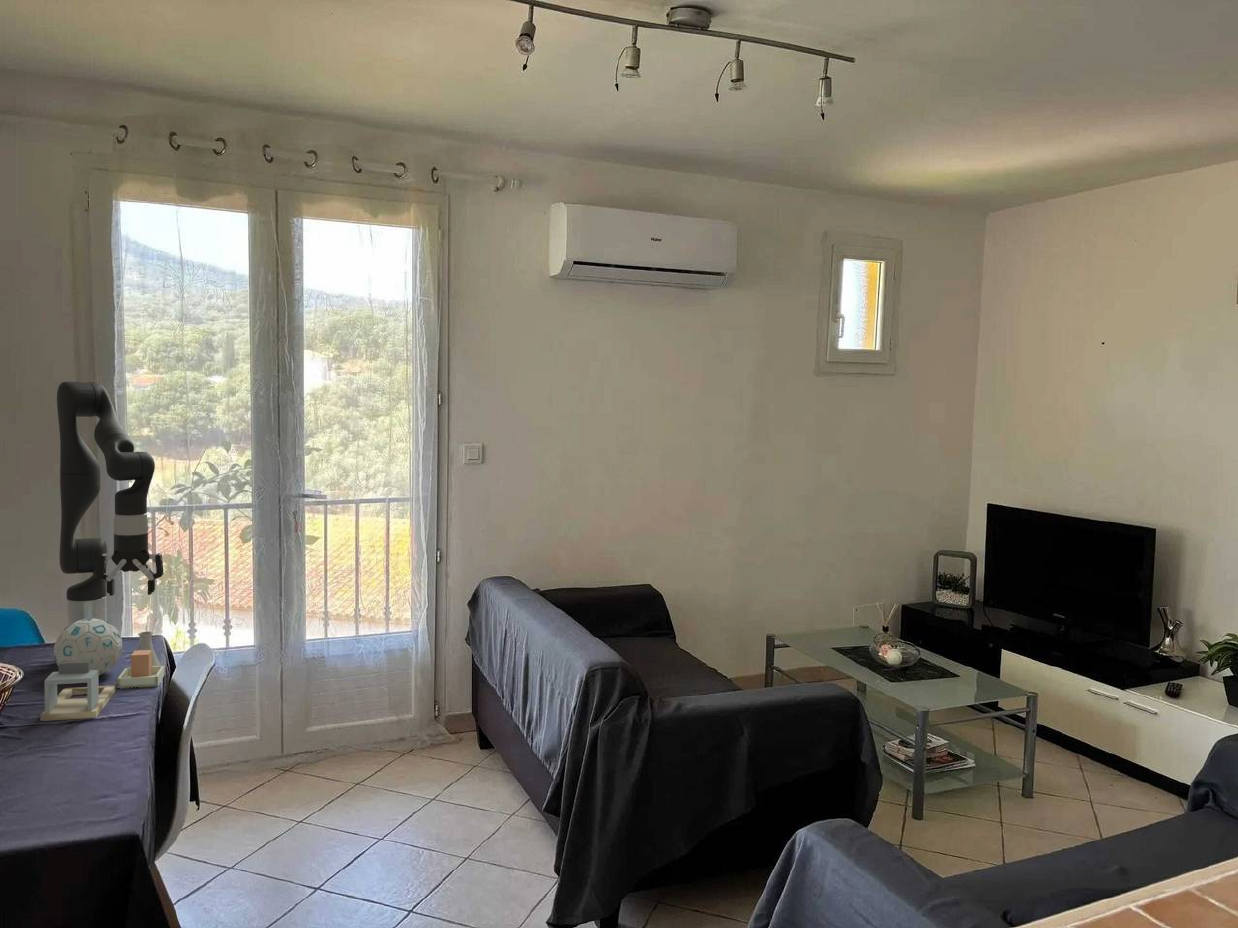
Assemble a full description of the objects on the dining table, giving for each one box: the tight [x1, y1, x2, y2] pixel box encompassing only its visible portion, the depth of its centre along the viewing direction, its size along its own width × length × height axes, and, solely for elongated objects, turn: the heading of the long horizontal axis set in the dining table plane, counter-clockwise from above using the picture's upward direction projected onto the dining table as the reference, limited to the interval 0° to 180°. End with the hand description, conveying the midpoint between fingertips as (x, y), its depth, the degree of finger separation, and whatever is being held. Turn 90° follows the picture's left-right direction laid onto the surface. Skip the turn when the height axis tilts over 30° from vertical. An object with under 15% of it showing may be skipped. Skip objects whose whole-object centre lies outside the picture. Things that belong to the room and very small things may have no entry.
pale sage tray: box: [116, 665, 166, 689], centre depth 222 cm, size 9×9×2 cm
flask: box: [136, 630, 162, 666], centre depth 231 cm, size 7×7×10 cm
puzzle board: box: [39, 685, 116, 722], centre depth 205 cm, size 18×11×2 cm, turn 17°
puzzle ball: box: [53, 618, 123, 677], centre depth 224 cm, size 15×15×15 cm
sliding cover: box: [43, 660, 100, 713], centre depth 199 cm, size 6×9×10 cm, turn 107°
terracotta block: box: [130, 649, 152, 677], centre depth 222 cm, size 4×4×7 cm
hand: (131, 594), depth 220 cm, fingers open, 8 cm apart
